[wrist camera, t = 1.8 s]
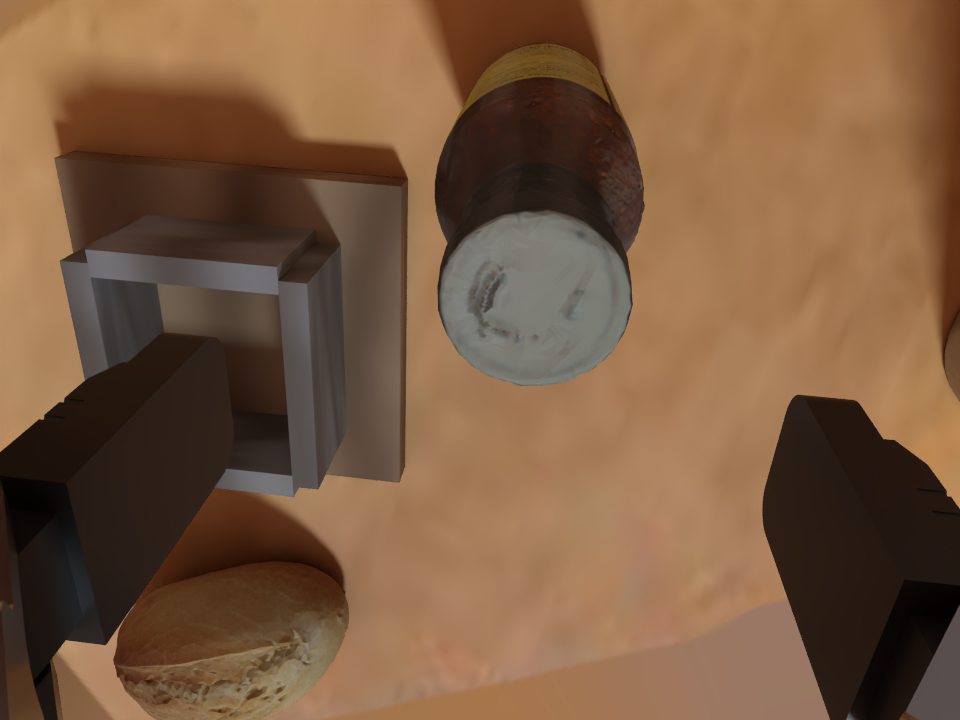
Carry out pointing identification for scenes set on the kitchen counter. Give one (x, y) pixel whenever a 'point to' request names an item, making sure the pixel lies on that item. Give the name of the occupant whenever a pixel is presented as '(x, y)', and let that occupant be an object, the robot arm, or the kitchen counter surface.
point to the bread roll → (231, 642)
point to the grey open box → (254, 300)
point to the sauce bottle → (538, 219)
